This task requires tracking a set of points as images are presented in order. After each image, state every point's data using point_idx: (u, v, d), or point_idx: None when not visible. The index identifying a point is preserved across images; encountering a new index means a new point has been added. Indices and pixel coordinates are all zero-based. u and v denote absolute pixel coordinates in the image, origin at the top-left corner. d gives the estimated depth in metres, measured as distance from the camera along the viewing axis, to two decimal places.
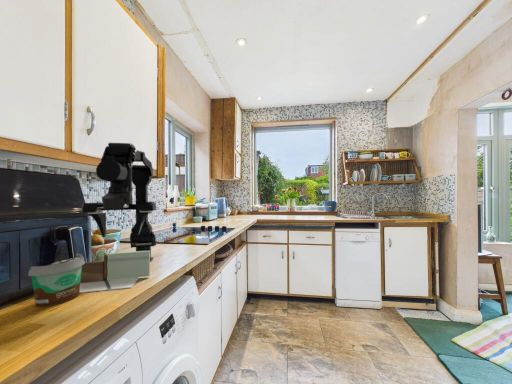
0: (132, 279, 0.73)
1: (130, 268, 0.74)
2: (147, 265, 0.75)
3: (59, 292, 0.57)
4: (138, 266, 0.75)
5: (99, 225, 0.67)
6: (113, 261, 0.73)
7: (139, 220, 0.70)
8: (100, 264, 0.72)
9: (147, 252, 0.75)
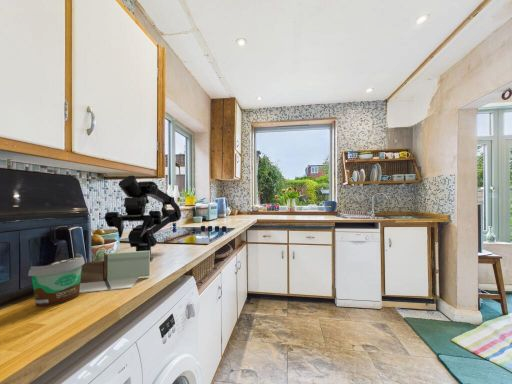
0: (132, 279, 0.73)
1: (130, 268, 0.74)
2: (147, 265, 0.75)
3: (59, 292, 0.57)
4: (138, 266, 0.75)
5: (118, 227, 0.82)
6: (113, 261, 0.73)
7: (144, 223, 0.85)
8: (100, 264, 0.72)
9: (147, 252, 0.75)
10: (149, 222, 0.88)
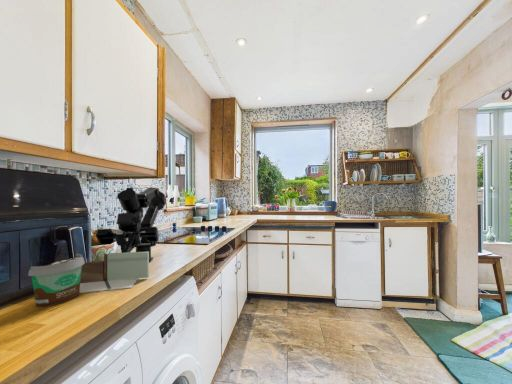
0: (132, 279, 0.73)
1: (129, 269, 0.73)
2: (146, 266, 0.74)
3: (59, 292, 0.57)
4: (137, 267, 0.73)
5: (121, 245, 0.76)
6: (112, 261, 0.72)
7: (128, 242, 0.77)
8: (100, 264, 0.72)
9: (146, 253, 0.74)
10: (135, 240, 0.80)
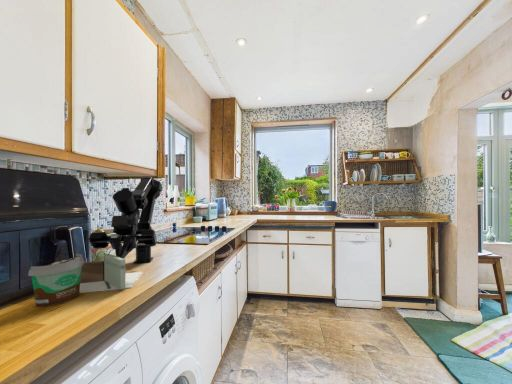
0: (132, 279, 0.73)
1: (112, 274, 0.68)
2: (120, 276, 0.65)
3: (59, 292, 0.57)
4: (116, 274, 0.66)
5: (116, 250, 0.71)
6: (106, 263, 0.71)
7: (124, 246, 0.72)
8: (100, 264, 0.72)
9: (120, 261, 0.65)
10: (131, 244, 0.75)
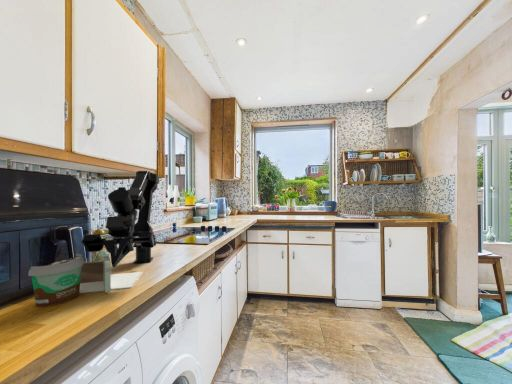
0: (132, 279, 0.73)
1: (104, 276, 0.66)
2: (105, 279, 0.62)
3: (59, 292, 0.57)
4: None
5: (111, 253, 0.67)
6: (103, 263, 0.70)
7: (119, 249, 0.68)
8: (100, 264, 0.72)
9: (105, 263, 0.63)
10: (127, 246, 0.71)
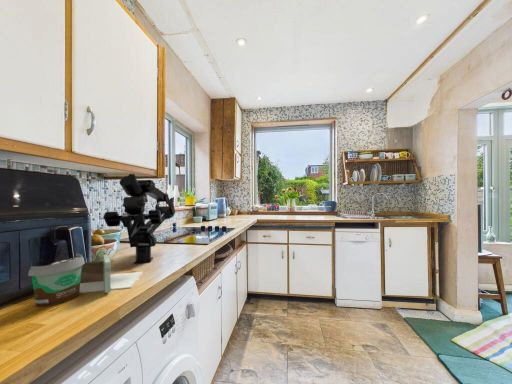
0: (132, 279, 0.73)
1: (104, 276, 0.66)
2: (105, 279, 0.62)
3: (59, 292, 0.57)
4: (104, 276, 0.64)
5: (128, 226, 0.82)
6: None
7: (134, 224, 0.83)
8: (100, 264, 0.72)
9: (105, 263, 0.63)
10: (140, 222, 0.86)
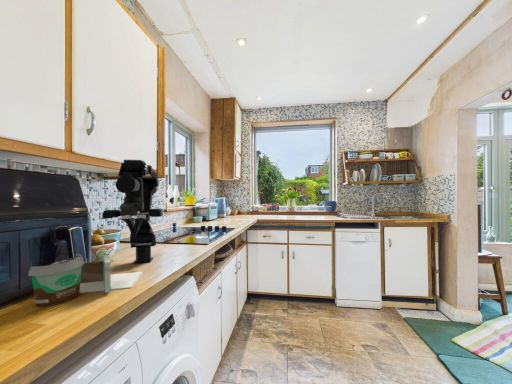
0: (132, 279, 0.73)
1: (104, 276, 0.66)
2: (105, 279, 0.62)
3: (59, 292, 0.57)
4: (104, 276, 0.64)
5: (130, 228, 0.82)
6: None
7: (136, 225, 0.82)
8: (100, 264, 0.72)
9: (105, 263, 0.63)
10: None
